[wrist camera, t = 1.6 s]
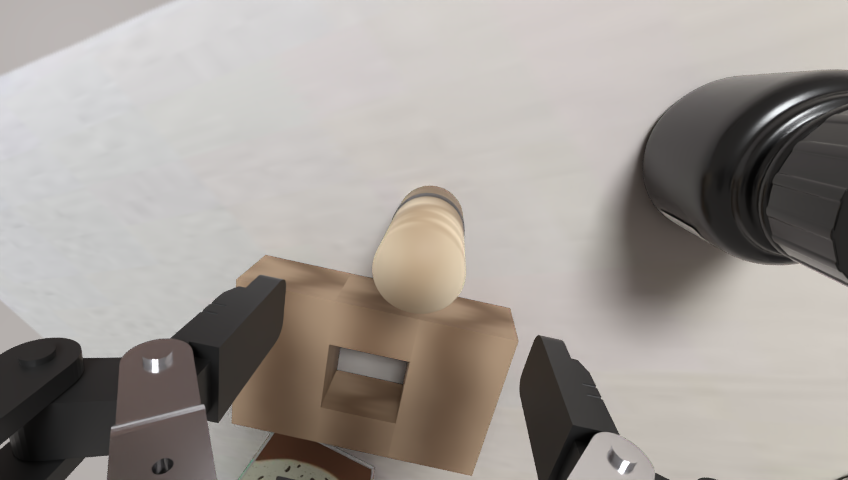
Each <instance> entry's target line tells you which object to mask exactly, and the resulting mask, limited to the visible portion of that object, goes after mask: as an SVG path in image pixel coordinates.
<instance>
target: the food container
mask: <svg viewBox="0 0 848 480" xmlns="http://www.w3.org/2000/svg"><path fill="white" fill-rule="evenodd" d="M374 470H375V467H373V466H371V465H369V464H367V463H365V462H363V461H361V460H359V459H357V458H355V457H353V456H351V455H350V454H348V453H346V452H344V451H342V450H340V449H338V448H336V447H334V446H332V445H328V444H324V443H319V442H315V441H310V440H306V439H301V438H296V437H292V436H287V435H283V434H278V433H274V432H271V434H270V435H269V436H268V438H267V439H266V441H265V442H264V443H263V445H262V446H261V448H260V449H259V451H258V452H257V453H256V455H255V456H254V458H253V459H252V460H251V462H250V463H249V465H248V466H247V468H246V469H245V470H244V472H243V473H242V475H241V476H240V478H239V479H238V480H277V477H278V476H281V477H286V478H290V479H295V480H373V479H374Z"/></svg>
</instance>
